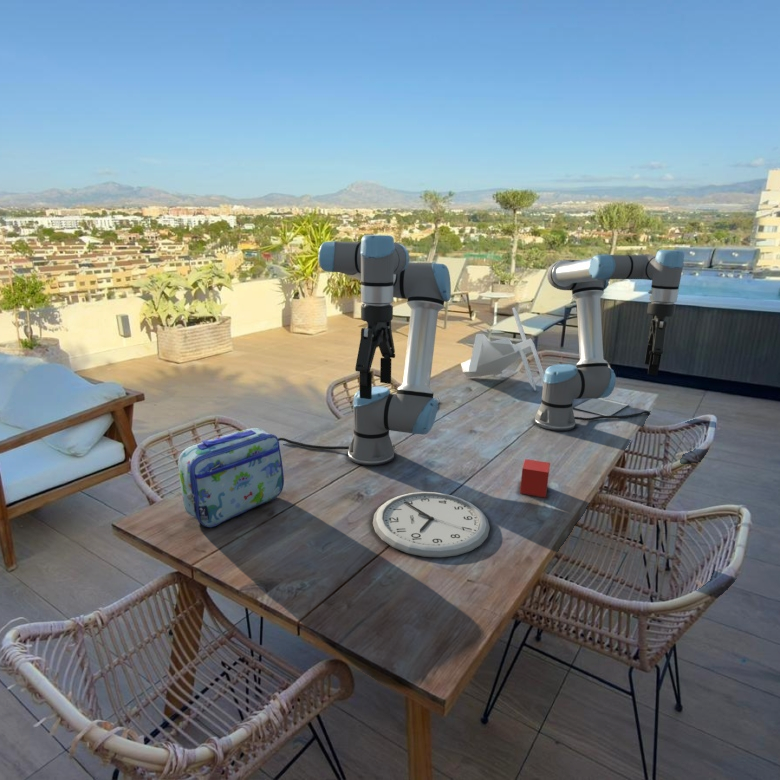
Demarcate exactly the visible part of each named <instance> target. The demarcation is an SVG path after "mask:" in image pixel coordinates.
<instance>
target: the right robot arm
mask: <svg viewBox="0 0 780 780" xmlns="http://www.w3.org/2000/svg"><path fill="white" fill-rule="evenodd" d="M684 260H685V252H684V251H683V250H675V249H659V250H658V251H657V252H656V255H653V254H646V253H645V254H642V253H641V254H608V253H603V254H595V255H594V256H593V257H592V258H586V259H561V260H558V261H555V262H553V263H552V264H551V265H550V266H549V268H548V270H547V274H546V276H547V277H546V278H547V280H548V283H549V284H550V285H551V286H552V287H553V288H555V289H557V290H560V291H571V297H572V298H573V299H574V300H576V316H577V332H578V333H577V335H578V351H579V361H578V362H577V363H576V364H575V365H574V364H571V363H570V364H569V363H567V364H566V363H559V364H553V365H549V366H548V367H547V368H546V369H545V371H544V378H543V382H542V394H541V402H540V405H539V407H538V410H537V411H536V413H535V416H534V424H535V425H536V426H537V427H539V428H542V429H544V430H549V431H556V432H567V431H572V430H574V429H575V428H576V420H579V421H594V420H599V419H627V418H632V417H639V416H641V415H645V414H647V415H648V416H650V415H652V414H651V413H650V412H649V411H648V410H643V411H641V412H636V413H631V414H626V415H625V414H624V415H611V416H604V415H598V416H594V417H581V416H575V413H574V407H573V405H574V400H590V399H598V398H601V399H605V398H607V397H610V395H611V394H612V393H613V391H614V389H615V387H616V381H617V380H616V379H617V376H616V373H615V371H614V369H613V368H611V367H609V362H608V361H607V360H605V359H604V348H603V347H604V345H603V342H604V341H603V326H602V309H601V297H602V296H603V295H604V293H605V290H606V289H607V288H608V287H609V284H610V283H609V282H610V280H645V281H646V280H647V281H651V284H650V285H651V286H650V289H651V290H648V292H647V293H648V295H649V298H648V299H649V302H648V303H647V310H646V313H647V315H649V316H652V317H651V318H652V319H651V321H650V328H649V333H648V337H647V346H646V352H645V357H644V365H647V366H648V369H647V375H649V376H658V375H659V369H660V363H661V360H662V359H661V358H662V355H663V353H664V343H665V334H666V328H667V324H668V322H667V321H666V318H670V317H673V316H675V311H676V307H677V305H676V304H675V303H676V302H677V301H678V297H679V290H680V284H681V279H682V273H683V269H684V264H685V263H684Z"/></svg>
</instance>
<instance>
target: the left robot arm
mask: <svg viewBox="0 0 780 780" xmlns="http://www.w3.org/2000/svg"><path fill="white" fill-rule="evenodd" d="M318 264H319V266H320V268H321V270H322V271H324V272H330V273H340V274H344V275H346V276H348V277H351V278H353V279H355V280H358V281H359V282H360V288H359V292H360V301H361V303H362V304H361V305H360V319H361V320H362V321H363V322H366V323H367V324H366V327H362V328H360V341H359V344H358V345H359V346H358V353H357V357H356V362H355V363H356V364H355V367H354V368H355V372H357V373H358V372H359V390H358V391H356V392H355V393H354V395H353V404H352V407H353V408H352V410H353V411H352V413H353V415H352V416H353V418H352V419H353V435H352V438H351V441H350V444H349V445H347V446H345V445H342V446H341V445H337V446H335V445H334V446H333V445H332V446H329V445H328V446H326V445H313V444H307V443H303V442H302V443H301V442H299V441H294V440H291V439H288V438H285V437H277V438H278V440H279V442H280V441H282V442H286V443H288V444H293V445H297V446H301V447H304V448H310V449H318V450H348V451H347V453H348V454H347V457H348V459H349V460H350V461H351V462H352V463H355V464H358V465H361V466H368V467H369V466H370V467H371V466H380V465H382V466H383V465H385V464H388V463H390V462H391V461H393V460H394V459H395V449H396V448H395V444H393V442H392V439H391V436H390V431H391V432H397V433H398V432H399V433H407V434H412V435H428V434H429V433H430V432H431V430H432V429H433V426H434V424H435V421H436V417H437V414H438V405H439V403H438V401H439V400H438V399H437V398H436V399H437V400H438V401H437V400H436V399H435V397H434V391H433V390H432V389H431V387H430V385H431V377H432V370H433V369H432V368H433V359H434V351H435V343H436V336H437V335H436V334H437V327H438V325H437V324H438V317H439V312H440V311H442V309H444V305H445V303H447V302H450V300H451V294H452V285H451V284H452V283H451V275H450V271H449V268H448V266H447V265H446V264H444V263H437V262H434V261H433V262H417V261H416V262H413V261H410V253H409V250H408V248H406V247H405V245H403V244H402V243H399V242H395V238H394V236H392V235H389V234H364V235H363V236H362V237H361V240H360V242H358V241H357V242H356V241H337V240H332V241H324V242H322V243H321V244H320V247H319V249H318ZM394 298H396V299H399V300H400V299H403V300H407V302H406V304H407V306H408V307H409V309H410V318H409V327H408V334H407V344H406V351H405V359H404V360H405V361H404V367H403V376H402V377H403V378H402V384H401V385H399V387H397V388H396V394H395V393H391V390H390V388H389V387H386V386H373V371H371V369H372V365H373V362H374V359H375V354H376V350H377V348H378V349H379V351H380V355H381V357H380V358H379V359H380V362H379V363H380V364H379V365H380V367H379V368H380V372H379V373H380V374H379V378H380V379H379V384H389V385H390V384H392V359H395V358H396V353H395V352H396V349H395V343H394V339H393V338H394V336H393V332H392V320H393V318H394V313H393V312H394V306H393V304H392V303H393V302H394Z"/></svg>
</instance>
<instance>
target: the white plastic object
mask: <svg viewBox="0 0 780 780" xmlns="http://www.w3.org/2000/svg"><path fill="white" fill-rule="evenodd" d="M511 310H512V314H513V316H514V319H515V322H516V325H517V328H518V331H519V334H520V338H521V341H520V342H517V343H513V342H512V341H511V339H510V338H509V337H505V338H500V339H495V340H490V339H489V338H488V337H487V336H486V334H485V333H476V334H475V338H474V342H473V347H472V351H471V356H470V359H468V360H466V361H463V362H461V363H460V366H461V371H462V373H463V374H464V376H465V377H466V378H477V377H484V376H493V377H495V376H498V375H502V374H503V371H504V370H505V369H507V368H509V367H510V366H511V365H512V364H515V362H517V361H518V360H520V359H521V361H522V364H523V367H524V370H525V373H526V377H527V379H528V382H529V384H530V387H532V389H533V390H534V391H537V390H536V389H537V387H536V383H535V380H534V376H533V373H532V370H531V368H530V365H529V362H528V358H527V355H528V354H531V353H532V355H533V357H534V362H535V364H536V367H537V371H538V374H539V376H540V379H541V382H542V383H543V378H544V374H545V371H544V369H543V366H542V362H541V360H540V356H539V355H538V351H537V347H536V344H535V343H534V341H533V339H532V338H530V337H529V338H527V337H526V334H525V331H524V327H523V325H522V322H521V318H520V315H519V313H518V311H517V309H516V307H512V308H511Z"/></svg>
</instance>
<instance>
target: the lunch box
mask: <svg viewBox="0 0 780 780" xmlns="http://www.w3.org/2000/svg"><path fill="white" fill-rule="evenodd" d="M278 438H279V437H278V436H277V435H275V434H272V433H268V432H267V431H265V430H263V429H262V428H260V427H259V428H257V427H253V428H252V427H251V428H247V429H243V430H238V431H235V432H232V433H228V434H225V435H221V436H218V437H215V438H211V439H208V440H202V441H201V442H199V443H197V444H193V445H190V446H188V447H186V448H185V449H184V450H182V452H181V453H180V454H179V457H178V461H177V468H178V476H179V483H180V484H179V485H180V490H181V496H182V502H183V507H184V510H185V512H186V513H187V514H188V515H190V517H193V518H194V519H196V520H197V522H199V524H201V526H203V527H206V528H213V527H214V528H215V527H216V526H219V525H220V524H222V523H224V522H226V521H228V520H230V519H232V518H234V517H237V516H239V515H241V514H243V513H246V512H247V511H249V510H252V509H254V508H256V507H258V506H260V505H263V504H266V503H268V502H271V501H272V500H274V499H276V498H277V497H279V496H280V495H281V493H282V491H283V489H284V485H285V477H284V469H283V468H284V466H283V459H282V452H281V446H280V441H279V440H278Z"/></svg>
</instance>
